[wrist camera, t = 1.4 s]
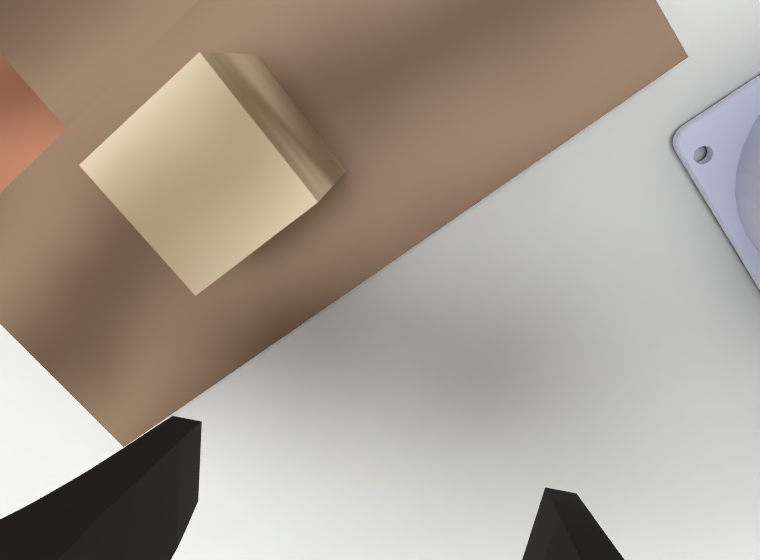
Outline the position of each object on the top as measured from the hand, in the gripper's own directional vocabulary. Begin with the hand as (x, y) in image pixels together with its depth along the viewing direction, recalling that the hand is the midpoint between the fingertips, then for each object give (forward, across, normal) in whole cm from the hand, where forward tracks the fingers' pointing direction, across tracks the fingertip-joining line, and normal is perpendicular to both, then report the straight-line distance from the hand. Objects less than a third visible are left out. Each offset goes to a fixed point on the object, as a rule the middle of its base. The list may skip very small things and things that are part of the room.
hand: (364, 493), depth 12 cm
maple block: (+7, +5, -5) cm, 10 cm away
